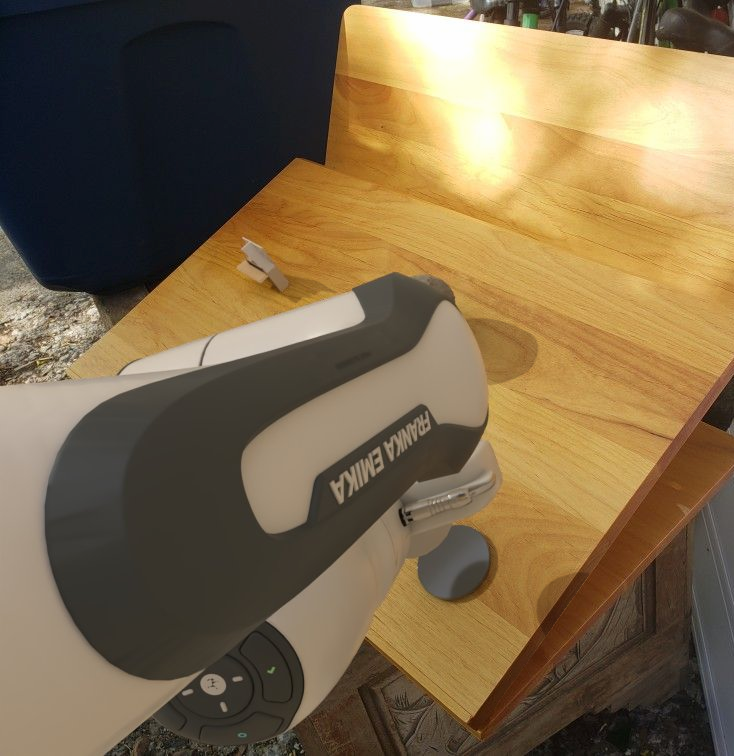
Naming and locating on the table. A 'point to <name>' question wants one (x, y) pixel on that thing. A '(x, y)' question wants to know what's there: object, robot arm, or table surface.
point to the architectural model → (261, 266)
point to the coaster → (455, 564)
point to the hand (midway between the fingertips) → (386, 482)
